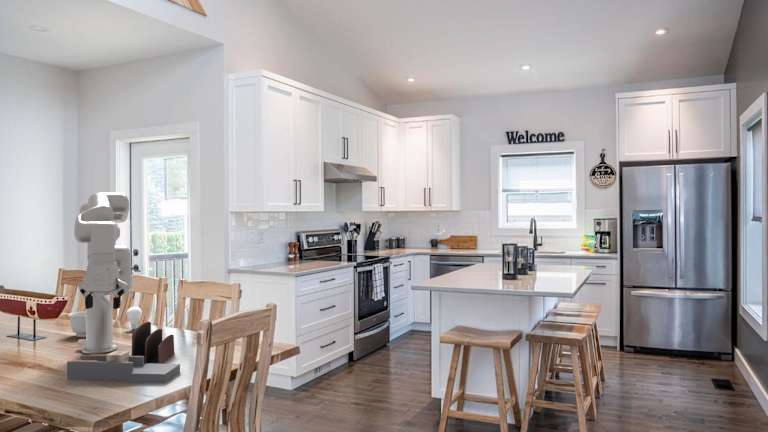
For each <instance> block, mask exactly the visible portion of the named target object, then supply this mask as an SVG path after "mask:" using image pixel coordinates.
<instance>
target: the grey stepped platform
mask: <svg viewBox="0 0 768 432" xmlns="http://www.w3.org/2000/svg"><path fill="white" fill-rule="evenodd" d="M107 355H108V354H103V353H97V354H82V355H80V359H79V360H68V361H67V362H66V380H68V381H105V382H106V381H110V382H111V381H113V382H119V381H120V382H128V383H130V384H131V383H132V384H133V383H134V384H136V383H137V384H139V383H141V384H166V383H167V382H169V381H170V380H172V379H173V378H174V377H176V376H177V375H179V374H180V373H181V364H180V363H164V364H151V363H146V364H145V365H144V356H131V355H129V362H107Z"/></svg>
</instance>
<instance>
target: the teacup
mask: <svg viewBox="0 0 768 432" xmlns="http://www.w3.org/2000/svg"><path fill="white" fill-rule="evenodd" d="M67 316H68V318H69V320H70V321H69V322H70V328H71V331H72V332H73V333H74V334H75V337H79V338H83V337H85V338H86V310H83V311H82V310H81V311H75V312H70V313H68V314H67Z"/></svg>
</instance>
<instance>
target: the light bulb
mask: <svg viewBox="0 0 768 432" xmlns="http://www.w3.org/2000/svg"><path fill="white" fill-rule="evenodd" d="M142 315H143V311H142V309H141V308H140V307H138V306H131V307H129V308H128V309H127V311H126V317H127V319H128V320H129V325H130V329H131V330H134V331H135V330H136V329H137V328H138V327H139V321H140V320H141V317H142Z"/></svg>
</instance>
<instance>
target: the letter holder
mask: <svg viewBox="0 0 768 432" xmlns="http://www.w3.org/2000/svg"><path fill="white" fill-rule="evenodd" d="M174 354H175V337H174V334H170V335H167V336H166V337H165V338H163V329H162V328H158V329H156V330H154V331H152V322H151V321H145V322H144V323H142V324H140V325H138V328H137V329H135V330H134V331H132V334H131V354H130V356H144V365H145V364H146V363H151V364H166V362H167V361H168V360H170V359H171V357H172V356H173V355H174Z"/></svg>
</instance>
